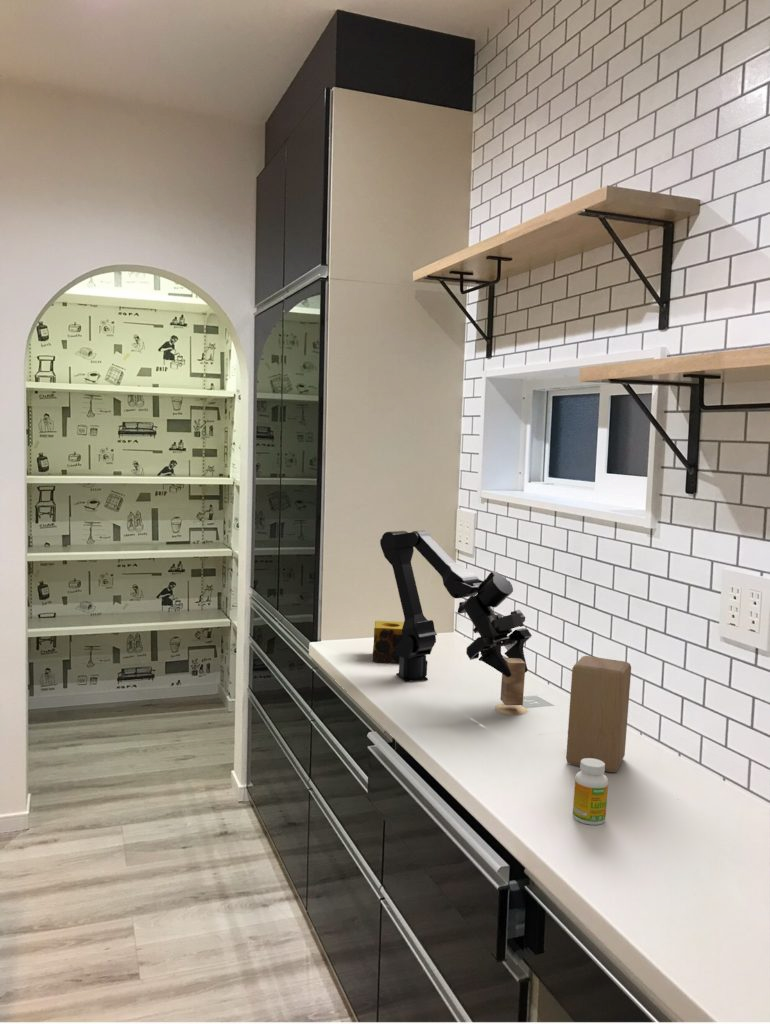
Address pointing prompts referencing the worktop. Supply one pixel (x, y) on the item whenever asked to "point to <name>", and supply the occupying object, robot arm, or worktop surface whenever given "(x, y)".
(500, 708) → the cork coaster
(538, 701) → the tile
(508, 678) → the walnut block
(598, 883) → the worktop surface
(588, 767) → the supplement bottle
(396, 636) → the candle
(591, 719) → the block
